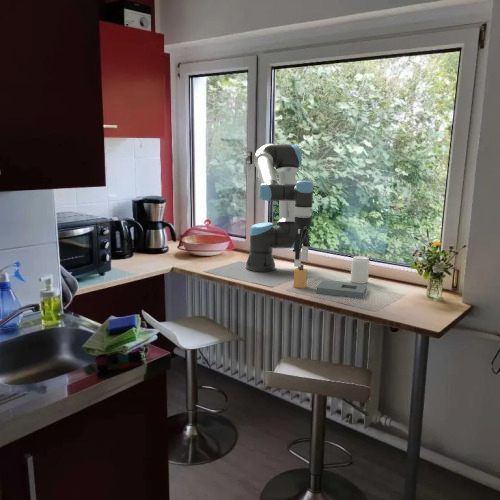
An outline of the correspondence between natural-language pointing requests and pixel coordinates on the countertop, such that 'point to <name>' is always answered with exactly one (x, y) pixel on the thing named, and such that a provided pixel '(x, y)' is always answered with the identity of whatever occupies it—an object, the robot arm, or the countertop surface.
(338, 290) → the socket block
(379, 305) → the countertop surface
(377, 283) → the countertop surface
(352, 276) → the beverage can
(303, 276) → the orange bottle
